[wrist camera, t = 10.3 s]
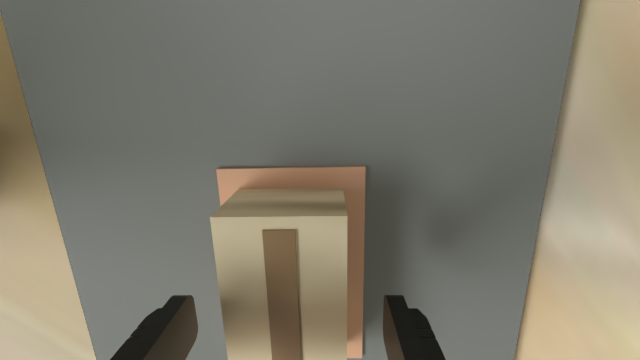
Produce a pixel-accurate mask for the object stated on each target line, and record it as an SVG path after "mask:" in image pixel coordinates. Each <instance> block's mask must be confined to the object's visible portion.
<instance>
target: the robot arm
mask: <svg viewBox="0 0 640 360" xmlns="http://www.w3.org/2000/svg"><path fill="white" fill-rule="evenodd" d="M197 334H198V322H197V315H196V309H195V303H194V298H193V296H192V295H173V296H171V297H170V299H169V300H168V301H167V302H166V304H165V305H164V306H163V307H162V308H158V309H156V310H155V311H153V312H152V313H151V314H149V315H148V316H146V317H145V318H144V320H143V321H142V322H141V323H140V324H139V326H138V327H137V329H136V330H134V332H133V333H132V334H131V335H130V337H129V338H128V339H127V340H126V341H125V342H124V343H123V345H122V346H121V347H120V348H119V349H118V351H117V352H116V353H115V354H114V355H113V357H112V358H111V359H110V360H186V358H187V356H188V354H189V352H190V350H191V349H192V347H193V345H194V343H195V341H196V338H197ZM383 339H384V344H385V349H386V353H387V357H388V360H446V359H445V357H444V354H443V352H442V350H441V348H440V346H439V343H438V341H437V340H436V337H435V335H434V332H433V330H432V328H431V326H430V324H429V321H428V319H427V317H426V316H425V315H424V314H423V313H422V312H421V311H420V310H419V309H418V308H408V306H407V304H406V301H405V299H404V296H403V295H384V305H383Z"/></svg>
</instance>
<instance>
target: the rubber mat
mask: <svg viewBox="0 0 640 360" xmlns="http://www.w3.org/2000/svg"><path fill="white" fill-rule="evenodd" d="M580 1H581V0H0V11H1V15H2V18H3V22H4V26H5V29H6V33H7V37H8V40H9V44H10V47H11V51H12V55H13V58H14V62H15V66H16V69H17V73H18V77H19V80H20V84H21V87H22V91H23V95H24V98H25V102H26V106H27V109H28V113H29V116H30V120H31V124H32V127H33V131H34V135H35V138H36V142H37V145H38V149H39V153H40V156H41V160H42V164H43V167H44V171H45V175H46V178H47V182H48V185H49V189H50V193H51V196H52V200H53V204H54V207H55V211H56V214H57V218H58V222H59V225H60V229H61V233H62V236H63V240H64V243H65V247H66V251H67V254H68V258H69V262H70V265H71V269H72V273H73V276H74V280H75V283H76V287H77V291H78V294H79V298H80V302H81V305H82V309H83V312H84V316H85V320H86V323H87V327H88V331H89V334H90V338H91V341H92V345H93V349H94V352H95V356H96V360H110V359H111V358H112V357H113V355H114V354H115V353H116V352H117V351H118V349H119V348H120V347H121V346H122V345H123V343H124V342H125V341H126V340H127V339H128V338H129V337H130V335H131V334H132V333H133V332H134V330H136V329H137V327H138V326H139V324H140V323H141V322H142V321H143V320H144V318H145V317H146V316H148V315H149V314H151V313H152V312H153V311H155V310H156V309H158V308H162V307H163V306H164V305H165V304H166V302H167V301H168V300H169V299H170V297H171V296H173V295H192V296H193V298H194V303H195V309H196V315H197V322H198V334H197V338H196V341H195V343H194V345H193V347H192V349H191V350H190V352H189V354H188V356H187V358H186V360H228V357H227V349H226V341H225V333H224V326H223V318H222V310H221V302H220V294H219V286H218V278H217V270H216V263H215V255H214V247H213V239H212V231H211V223H210V217H211V216H212V215H213V214H214V213H215V212H216V211H217V210H218V209H219V208H220V207H221V206H222V205H223V204H224V203H225V202H226V201H227V200H228V199H229V198H230V197H231V196H232V195H233V194H234V193H235V192H236V191H237V190H238V189H290V188H343V192H344V198H345V204H346V210H347V360H388V357H387V353H386V349H385V344H384V339H383V305H384V295H403V296H404V299H405V301H406V304H407V306H408V308H418V309H419V310H420V311H421V312H422V313H423V314H424V315H425V316H426V317H427V319H428V321H429V324H430V326H431V328H432V330H433V332H434V335H435V337H436V340H437V341H438V343H439V346H440V348H441V350H442V352H443V354H444V357H445V359H446V360H514V356H515V350H516V345H517V340H518V334H519V329H520V324H521V318H522V313H523V307H524V302H525V297H526V291H527V286H528V280H529V275H530V270H531V264H532V259H533V254H534V248H535V243H536V237H537V232H538V227H539V221H540V216H541V210H542V205H543V200H544V194H545V189H546V184H547V178H548V173H549V167H550V162H551V157H552V151H553V146H554V141H555V135H556V130H557V124H558V119H559V114H560V108H561V103H562V97H563V92H564V87H565V81H566V76H567V71H568V65H569V60H570V54H571V49H572V44H573V38H574V33H575V27H576V22H577V17H578V11H579V6H580Z"/></svg>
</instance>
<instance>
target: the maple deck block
mask: <svg viewBox="0 0 640 360" xmlns="http://www.w3.org/2000/svg"><path fill="white" fill-rule="evenodd" d="M210 223H211V231H212V239H213V247H214V255H215V263H216V270H217V278H218V286H219V294H220V302H221V310H222V318H223V326H224V333H225V341H226V349H227V357H228V360H347V210H346V204H345V198H344V192H343V188H290V189H238V190H237V191H236V192H235V193H234V194H233V195H232V196H231V197H230V198H229V199H228V200H227V201H226V202H225V203H224V204H223V205H222V206H221V207H220V208H219V209H218V210H217V211H216V212H215V213H214V214H213V215H212V216H211V217H210Z"/></svg>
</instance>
